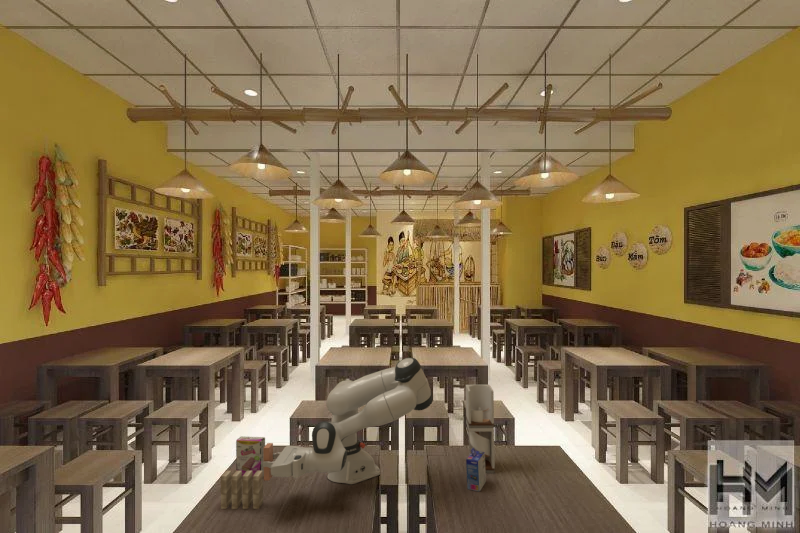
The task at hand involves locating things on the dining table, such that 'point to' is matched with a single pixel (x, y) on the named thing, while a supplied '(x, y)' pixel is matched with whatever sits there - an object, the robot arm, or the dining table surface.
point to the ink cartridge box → (476, 470)
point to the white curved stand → (481, 422)
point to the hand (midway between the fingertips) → (266, 460)
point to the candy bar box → (250, 454)
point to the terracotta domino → (268, 457)
